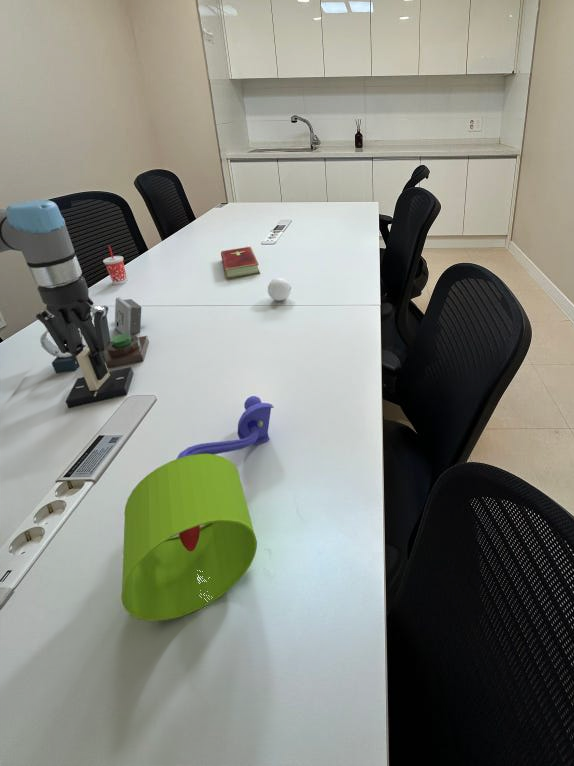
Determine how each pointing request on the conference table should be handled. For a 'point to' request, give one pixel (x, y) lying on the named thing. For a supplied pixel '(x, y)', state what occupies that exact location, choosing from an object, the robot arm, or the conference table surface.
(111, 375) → the dimmer panel
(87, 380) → the cream rectangular block
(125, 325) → the electrical switch
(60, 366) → the watch
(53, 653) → the conference table surface
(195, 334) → the conference table surface
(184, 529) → the wall lamp
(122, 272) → the beverage cup
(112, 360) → the switch block
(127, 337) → the button
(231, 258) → the hardcover book
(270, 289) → the white ovoid piece
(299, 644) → the conference table surface
